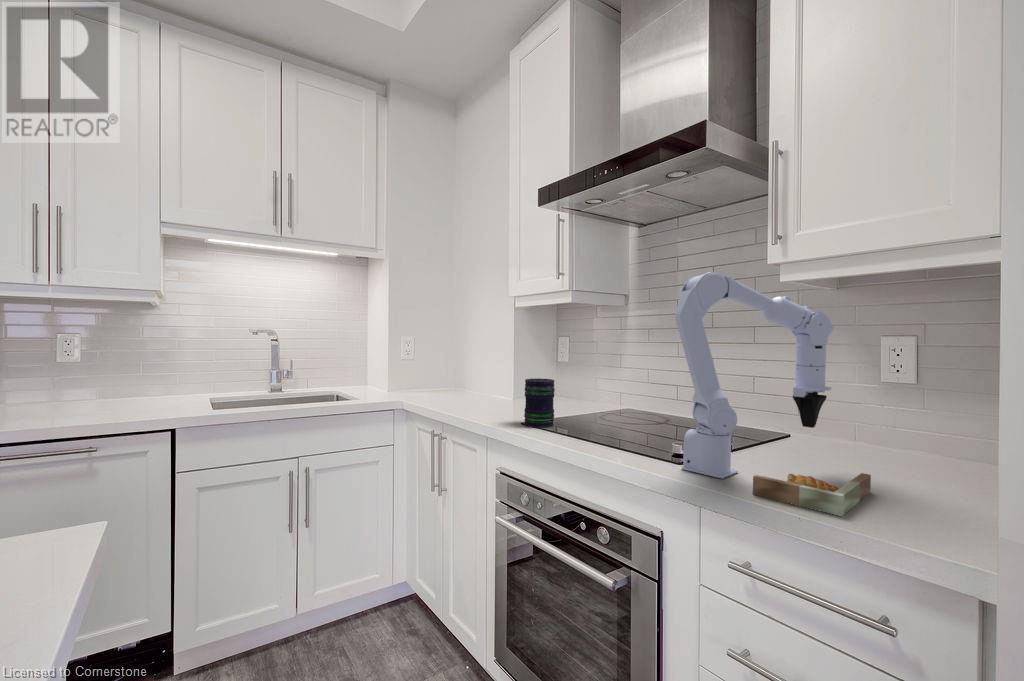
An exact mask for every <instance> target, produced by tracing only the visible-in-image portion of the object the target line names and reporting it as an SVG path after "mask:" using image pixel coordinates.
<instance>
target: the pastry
mask: <svg viewBox="0 0 1024 681" xmlns="http://www.w3.org/2000/svg"><path fill="white" fill-rule="evenodd" d="M786 481H787V482H791V483H795V484H800V485H804V486H809V487H813V488H818V489H822V490H827V491H831V492H835V491H837V490H838V489H840V488H839V486H836V485H834V484H830V483H828V482H826V481H824V480H821V479H819V478H815V477H813V476H812V475H811V476H810V475H809V476H806V475H802V474H797V475H795V474H793V473H790V472H789V473H788V474H787V480H786Z"/></svg>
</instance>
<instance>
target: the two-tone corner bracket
mask: <svg viewBox="0 0 1024 681" xmlns="http://www.w3.org/2000/svg"><path fill="white" fill-rule="evenodd" d="M871 477H872V475H871V474H868V473H863V472H862V473H860V474H858V475H857V476H855V477H853V478H852V479H851V480H850V481H848V482H846V483H845V484H844V485H842V486H841V487H840V488H839V489H838V490H837V491H835V492H831V491H827V490H822V489H818V488H813V487H809V486H804V485H800V484H795V483H791V482H787V480H781V479H777V478H772V477H768V476H763V475H759V474H755V475H753V477H752V495H754V496H757V495H758V496H759V497H761V496H762V498H765V497H766V498H765V499H769V500H773V499H774V500H773V501H777V500H778V502H781V501H783V502H782V503H785V502H787V503H786V504H789V503H792V504H791V505H793V504H796V505H795V506H797V505H799V506H798V507H801V506H804V507H803V508H805V507H808V508H807V509H809V508H812V509H811V510H813V509H816V510H815V511H817V510H820V511H819V512H821V511H823V512H822V513H825V512H827V513H826V514H828V513H831V514H830V515H832V514H834V516H836V515H838V516H837V517H840V516H842V517H843V516H845V514H847V513H846V512H849V511H850V510H852V508H854V507H856V505H857V504H858V503H860V502H861V501H862V500H863V499H865V498H866V497H867V496H868V495H869V494H870V493H871V484H872V483H871V482H872V479H871Z"/></svg>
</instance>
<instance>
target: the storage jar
mask: <svg viewBox="0 0 1024 681" xmlns="http://www.w3.org/2000/svg"><path fill="white" fill-rule="evenodd" d="M524 382H525V384H524V397H525V408H524V414H523V417H524V426H525V427H528V428H531V429H548V428H552V427H554V426H555V425H554V421H555V420H554V419H555V408H554V398H555V390H556V389H555V379H551V378H526V379H525V380H524Z"/></svg>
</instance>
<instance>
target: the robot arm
mask: <svg viewBox="0 0 1024 681" xmlns="http://www.w3.org/2000/svg"><path fill="white" fill-rule="evenodd" d="M679 294H680V295H679V299H678V303H677V306H676V311H675V314H674V315H675V321H676V325H677V329H678V334H679V337H680V339H681V344H682V347H683V352H684V354H685V359H686V363H687V365H688V366H687V367H688V370H689V374H690V377H691V378H690V379H691V381H692V385H693V388H694V393H693V396H692V402H693V408H692V417H693V420H694V421H695V423H696V424H697V425H696V428H689V429H688V430H687V431H686V432H685V435H684V438H683V456H682V458H683V459H682V460H683V461H682V462H683V464H682V466H681V469H682V470H684V471H688V472H693V473H698V474H701V475H705V476H709V477H714V478H717V479H725V478H727V477H729V476H732V475H734V474H737V473H738V472H739V470H738V469H735V468H732V464H731V459H732V432H733V431H734V430H735V428H736V427H737V424H738V416H737V413H736V411H735V410H734V409H733V407H731V405H730V404H729V399H728V397H727V396H726V394H725V393H724V392H723V390H722V389H721V387H720V382H719V379H718V375H717V371H716V368H715V365H714V364H715V363H714V360H713V356H712V353H711V349H710V345H709V341H708V339H707V334H706V330H705V326H704V323H703V318H704V317H705V316H706V314H707V313H708V311H709V310H710V309H711V307H712V306H714V305H715V304H717V303H718V302H719V301H721V300H732V301H734V302H738V303H740V304H742V305H745V306H747V307H750V308H752V309H755V310H757V311H760V312H762V313H763V316H764V319H765V320H767V321H768V322H771V323H774V324H776V325H778V326H780V327H782V328H784V329H787V330H789V331H790V332H791V333H792V334H793V335H794V337H795V364H794V365H795V366H794V367H795V372H794V374H795V375H794V384H793V388H792V399H793V401H794V402H795V404H796V406H797V410H798V413H799V416H800V422H801V424H802V427H805V428H811V429H812V428H816V426H817V421H818V418H819V414H820V411H821V409H822V408H823V407H822V406H823V404H824V403H825V401H826V400H827V395H825V394H819V393H825V392H826V391H829V392H830V391H832V386H827V385H826V366H827V365H826V364H827V362H826V360H827V344H828V341H829V340H828V338H829V336H830V335H831V333H832V332H833V330H834V326H835V325H834V324H833V323H832V320H831V319H830V317H829V316H828V314H826V313H824V312H821V311H812V310H811V307H810V306H807V305H803V306H802V305H800V304H798V303H796V302H794V301H791V300H792V298H791V297H789V296H788V295H786V296H785V295H784V296H775V297H773V298H771V297H769V296H767V295H765V294H763V293H761V292H759V291H757V290H755V289H753V288H751V287H749V286H747V285H746V284H743V283H741V282H739V281H737V280H736V279H735V278H733V277H731V276H728V275H723V273H720V272H718V271H717V272H716V271H709V272H706V273H704V274H701V275H697V276H692V277H690V278H688V279H687V280H686V281H685V283H684V284H683V285H682V287H681V288H680V289H679Z"/></svg>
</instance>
